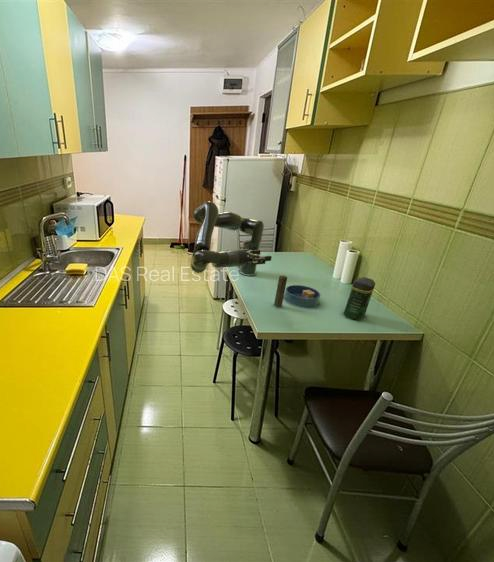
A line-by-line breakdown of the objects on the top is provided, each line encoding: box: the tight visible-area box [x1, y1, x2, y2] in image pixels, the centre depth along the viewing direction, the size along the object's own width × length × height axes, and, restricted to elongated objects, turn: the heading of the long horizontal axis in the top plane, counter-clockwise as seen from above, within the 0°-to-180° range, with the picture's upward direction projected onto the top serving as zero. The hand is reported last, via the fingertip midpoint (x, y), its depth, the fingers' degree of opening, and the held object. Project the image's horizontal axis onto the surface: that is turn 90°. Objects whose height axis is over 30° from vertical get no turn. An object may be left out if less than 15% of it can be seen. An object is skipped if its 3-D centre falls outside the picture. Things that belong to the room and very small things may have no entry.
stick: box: [273, 274, 288, 308], centre depth 145 cm, size 3×3×16 cm
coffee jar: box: [343, 276, 376, 321], centre depth 138 cm, size 10×8×19 cm
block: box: [302, 290, 315, 299], centre depth 155 cm, size 4×4×4 cm
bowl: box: [283, 284, 321, 308], centre depth 154 cm, size 16×16×5 cm
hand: (265, 255), depth 139 cm, fingers open, 8 cm apart
